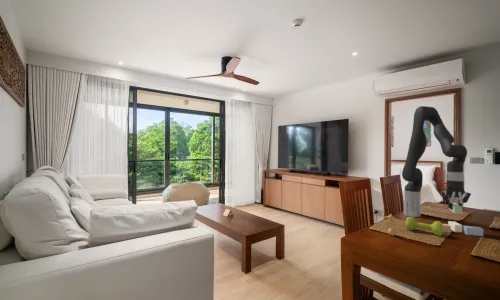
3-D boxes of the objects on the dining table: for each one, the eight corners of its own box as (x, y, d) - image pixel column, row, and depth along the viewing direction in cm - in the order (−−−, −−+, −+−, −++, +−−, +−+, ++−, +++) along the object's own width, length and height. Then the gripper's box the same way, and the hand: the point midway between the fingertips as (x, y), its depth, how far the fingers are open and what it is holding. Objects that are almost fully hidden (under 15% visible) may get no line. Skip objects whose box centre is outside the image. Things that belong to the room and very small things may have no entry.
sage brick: (454, 213, 129) (454, 206, 128) (448, 209, 135) (448, 202, 135) (462, 213, 127) (462, 207, 127) (455, 209, 134) (456, 202, 133)
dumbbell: (442, 233, 126) (442, 220, 126) (442, 238, 120) (442, 224, 120) (406, 227, 137) (406, 215, 137) (405, 230, 131) (405, 218, 131)
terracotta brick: (435, 231, 129) (435, 224, 129) (432, 229, 132) (432, 222, 132) (450, 233, 127) (450, 226, 127) (447, 231, 130) (447, 224, 130)
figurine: (402, 236, 122) (402, 214, 122) (398, 239, 118) (398, 216, 118) (385, 232, 128) (385, 211, 128) (381, 234, 125) (381, 213, 124)
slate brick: (466, 234, 124) (466, 227, 124) (463, 232, 127) (463, 225, 127) (483, 236, 122) (483, 229, 122) (479, 234, 125) (479, 227, 125)
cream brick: (454, 232, 128) (454, 224, 128) (448, 227, 135) (448, 221, 135) (462, 232, 127) (462, 225, 127) (455, 228, 134) (455, 221, 134)
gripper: (467, 179, 132) (467, 208, 132) (437, 178, 137) (437, 207, 137) (474, 181, 125) (474, 212, 125) (442, 180, 130) (442, 210, 130)
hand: (455, 209), depth 131 cm, fingers closed on sage brick, 3 cm apart
